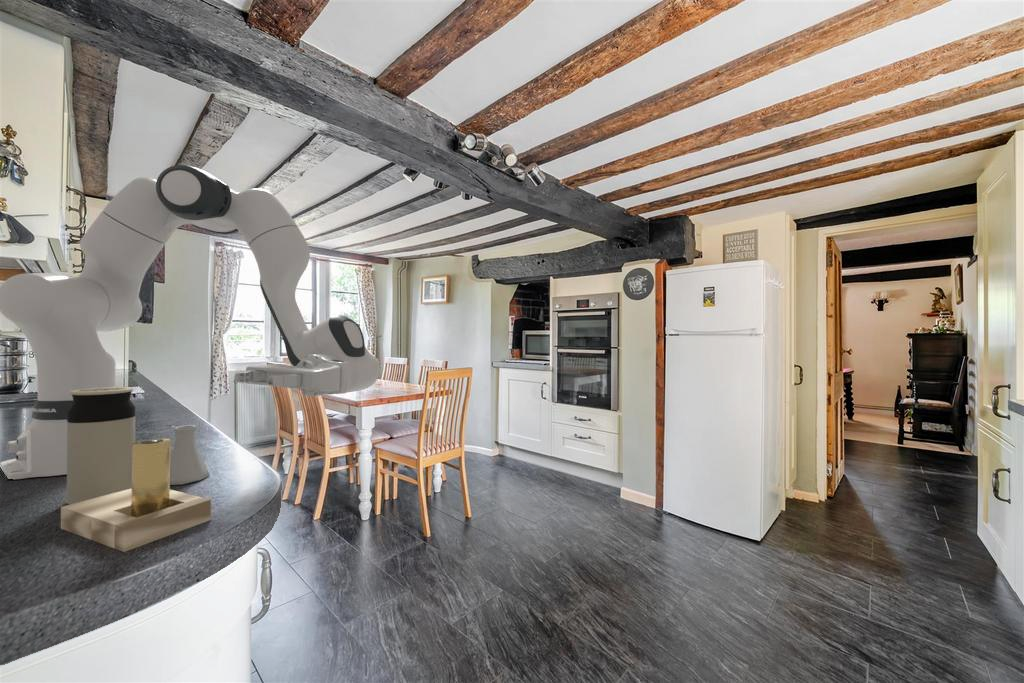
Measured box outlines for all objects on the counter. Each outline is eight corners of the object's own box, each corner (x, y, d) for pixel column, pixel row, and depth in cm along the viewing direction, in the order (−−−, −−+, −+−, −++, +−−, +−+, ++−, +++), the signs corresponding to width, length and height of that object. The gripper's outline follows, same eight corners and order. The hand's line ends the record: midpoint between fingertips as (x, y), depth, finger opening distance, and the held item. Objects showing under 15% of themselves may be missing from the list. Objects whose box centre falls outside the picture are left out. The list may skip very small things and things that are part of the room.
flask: (181, 488, 73) (181, 431, 73) (148, 485, 74) (149, 429, 74) (218, 475, 80) (218, 424, 80) (187, 472, 81) (188, 422, 81)
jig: (60, 528, 57) (60, 506, 57) (148, 502, 66) (148, 484, 66) (124, 552, 50) (124, 527, 50) (210, 519, 60) (210, 499, 60)
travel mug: (137, 497, 68) (138, 389, 68) (66, 511, 62) (67, 393, 62) (131, 485, 74) (132, 385, 74) (66, 498, 68) (67, 389, 68)
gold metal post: (123, 531, 56) (126, 442, 56) (158, 519, 60) (160, 436, 60) (140, 537, 54) (142, 445, 54) (175, 524, 58) (177, 439, 58)
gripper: (284, 358, 91) (218, 359, 78) (354, 362, 83) (293, 364, 70) (282, 386, 91) (216, 392, 78) (353, 393, 83) (292, 401, 70)
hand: (253, 379), depth 74 cm, fingers open, 8 cm apart
